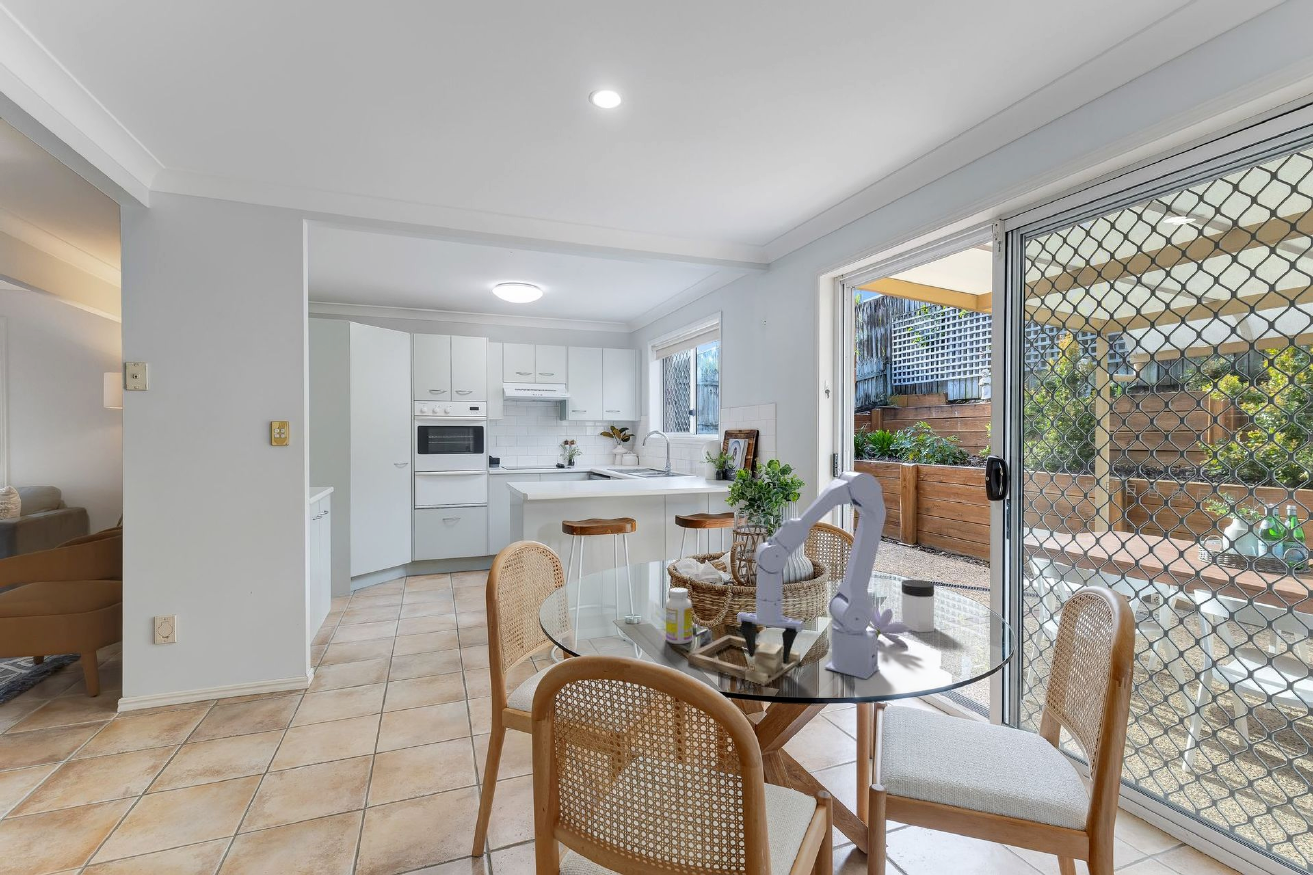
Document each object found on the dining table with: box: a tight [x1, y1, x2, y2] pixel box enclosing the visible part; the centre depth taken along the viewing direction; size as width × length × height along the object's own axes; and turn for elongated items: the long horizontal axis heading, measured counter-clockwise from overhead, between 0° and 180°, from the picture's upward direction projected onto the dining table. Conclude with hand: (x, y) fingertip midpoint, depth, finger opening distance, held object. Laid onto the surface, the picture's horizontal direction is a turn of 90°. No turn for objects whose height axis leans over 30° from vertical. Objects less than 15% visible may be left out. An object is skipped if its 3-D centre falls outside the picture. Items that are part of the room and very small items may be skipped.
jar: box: [900, 579, 935, 633], centre depth 163 cm, size 9×8×12 cm
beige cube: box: [753, 641, 783, 677], centre depth 134 cm, size 5×6×5 cm
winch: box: [692, 626, 713, 647], centre depth 148 cm, size 7×3×5 cm, turn 141°
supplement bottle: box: [665, 587, 693, 645], centre depth 152 cm, size 7×7×13 cm
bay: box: [687, 634, 801, 685], centre depth 138 cm, size 20×17×2 cm
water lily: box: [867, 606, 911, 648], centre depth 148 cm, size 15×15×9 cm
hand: (768, 658), depth 134 cm, fingers open, 7 cm apart
